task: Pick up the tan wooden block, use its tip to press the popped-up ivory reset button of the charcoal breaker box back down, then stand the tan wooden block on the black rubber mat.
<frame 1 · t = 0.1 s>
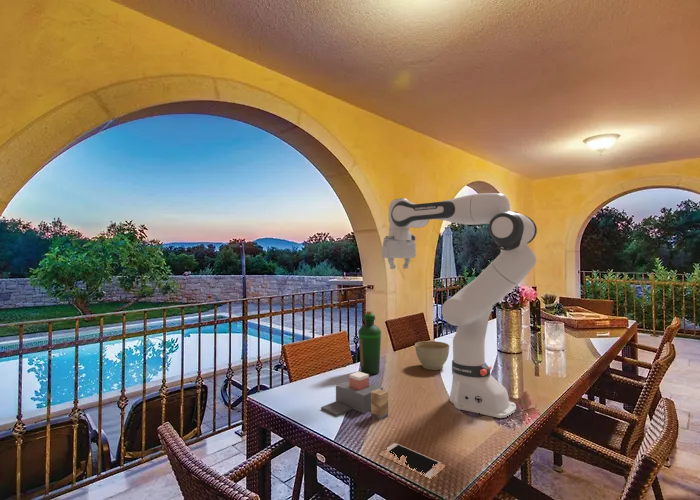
hand: (399, 268, 150), 48 cm above the table, tool pointing down, fingers open, 8 cm apart
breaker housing: (359, 403, 126), on the table
planter bowl: (432, 367, 168), on the table
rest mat: (336, 409, 121), on the table
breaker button: (359, 381, 126), point 8 cm above the table, slide at 3.0 cm
cell phone: (411, 462, 90), on the table
tan wooden block: (379, 416, 116), on the table
bottle: (370, 372, 161), on the table
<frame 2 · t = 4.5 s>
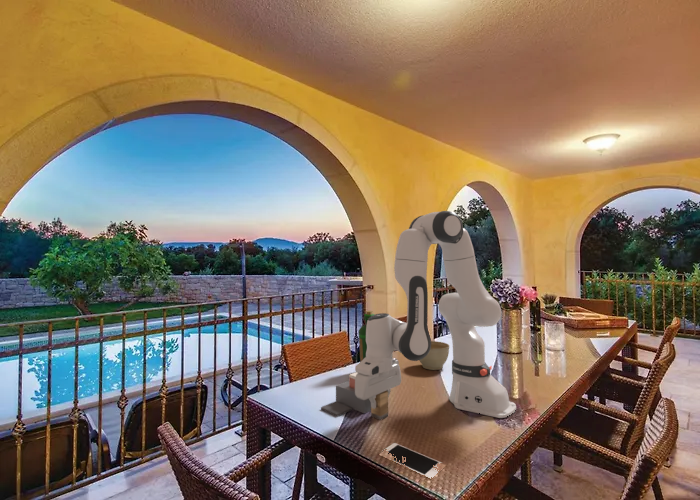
hand: (379, 405, 116), 4 cm above the table, tool pointing down, fingers closed on tan wooden block, 4 cm apart
tan wooden block: (379, 416, 116), on the table, touching gripper
everything else where it was.
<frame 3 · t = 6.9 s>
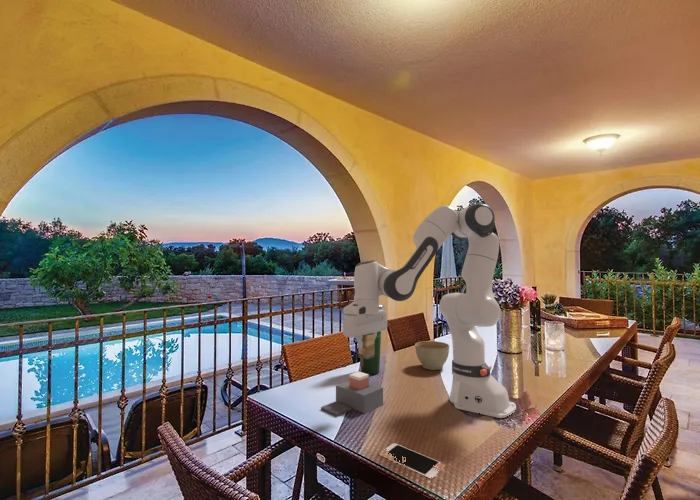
hand: (366, 346, 122), 21 cm above the table, tool pointing down, fingers closed on tan wooden block, 4 cm apart
tan wooden block: (366, 357, 122), point 18 cm above the table, touching gripper
everything else where it was.
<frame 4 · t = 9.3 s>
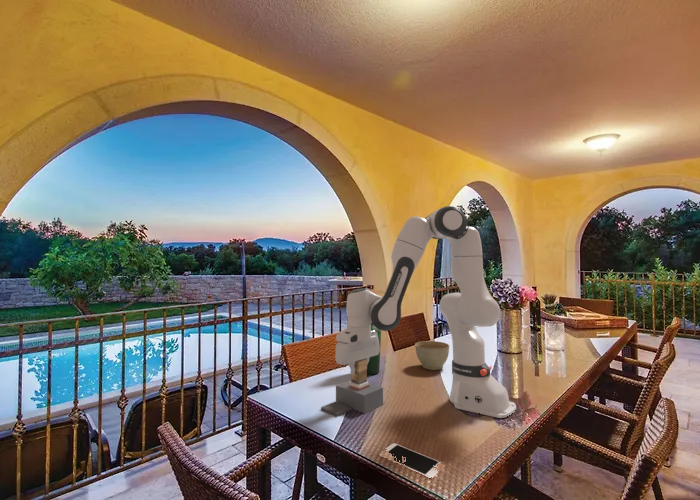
hand: (358, 371, 126), 11 cm above the table, tool pointing down, fingers closed on tan wooden block, 4 cm apart
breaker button: (359, 389, 126), point 5 cm above the table, slide at 0.3 cm, touching tan wooden block
tan wooden block: (358, 382, 126), point 8 cm above the table, touching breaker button, gripper
everything else where it was.
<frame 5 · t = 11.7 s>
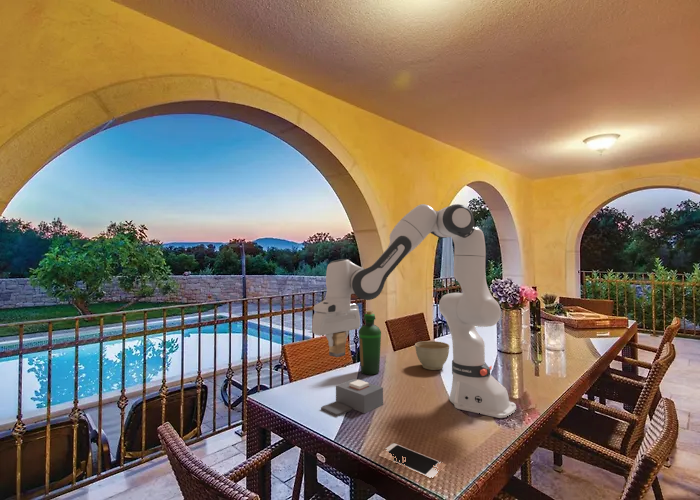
hand: (337, 344, 122), 22 cm above the table, tool pointing down, fingers closed on tan wooden block, 4 cm apart
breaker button: (359, 389, 126), point 5 cm above the table, slide at 0.0 cm
tan wooden block: (337, 355, 122), point 19 cm above the table, touching gripper
everything else where it was.
when the fingers open (5 cm above the table, at t = 14.0 s): tan wooden block stays where it is, resting on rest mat.
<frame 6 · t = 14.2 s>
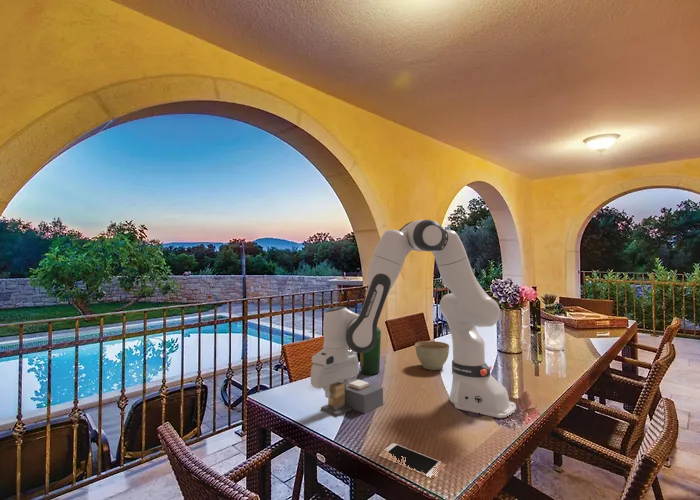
hand: (336, 394, 121), 5 cm above the table, tool pointing down, fingers open, 6 cm apart
tan wooden block: (336, 407, 121), point 1 cm above the table, touching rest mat
everything else where it was.
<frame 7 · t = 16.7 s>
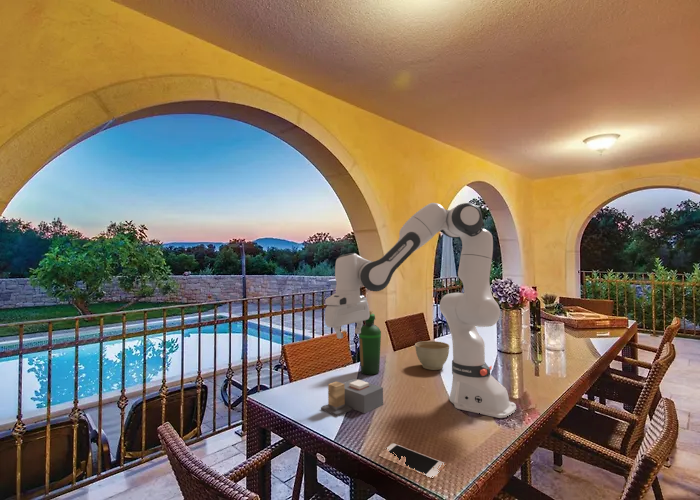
hand: (349, 335, 127), 24 cm above the table, tool pointing down, fingers open, 8 cm apart
nothing on the table moved.
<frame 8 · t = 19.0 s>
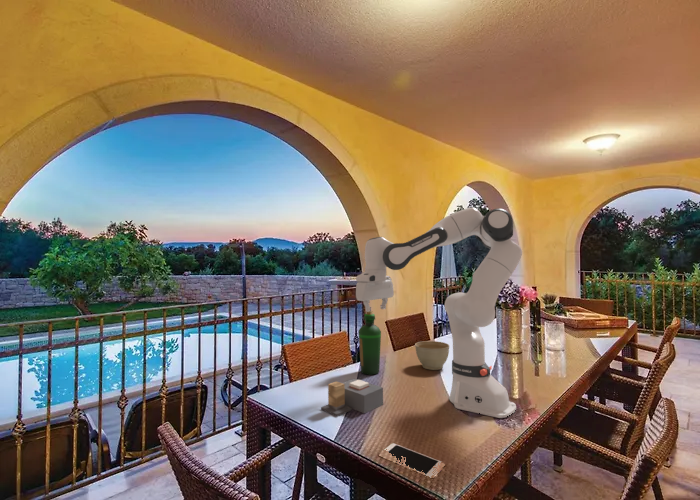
hand: (375, 310, 143), 31 cm above the table, tool pointing down, fingers open, 8 cm apart
nothing on the table moved.
at the end: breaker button slide at 0.0 cm; tan wooden block inside the target area (0.0 cm from its centre), point 0.8 cm above the table; tan wooden block tilted 0° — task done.
